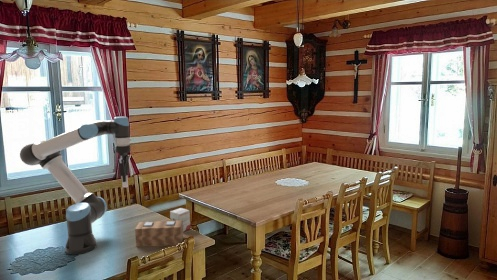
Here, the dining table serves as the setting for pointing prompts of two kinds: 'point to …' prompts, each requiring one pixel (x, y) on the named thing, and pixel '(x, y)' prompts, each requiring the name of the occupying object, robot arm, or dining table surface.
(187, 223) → the ink box
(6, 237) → the dining table surface
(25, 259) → the dining table surface
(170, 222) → the peg
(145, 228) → the socket block
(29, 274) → the dining table surface
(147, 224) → the peg
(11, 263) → the dining table surface
